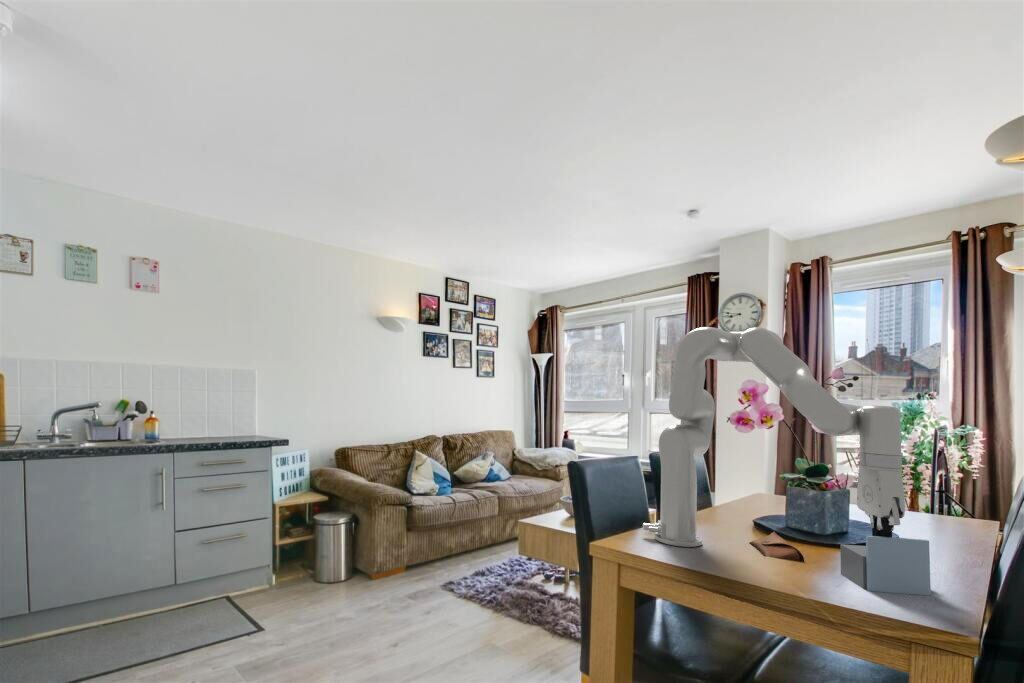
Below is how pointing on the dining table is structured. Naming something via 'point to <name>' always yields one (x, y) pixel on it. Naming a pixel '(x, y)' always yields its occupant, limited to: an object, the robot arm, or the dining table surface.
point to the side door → (898, 565)
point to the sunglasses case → (777, 548)
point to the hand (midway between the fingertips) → (882, 547)
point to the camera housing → (854, 564)
